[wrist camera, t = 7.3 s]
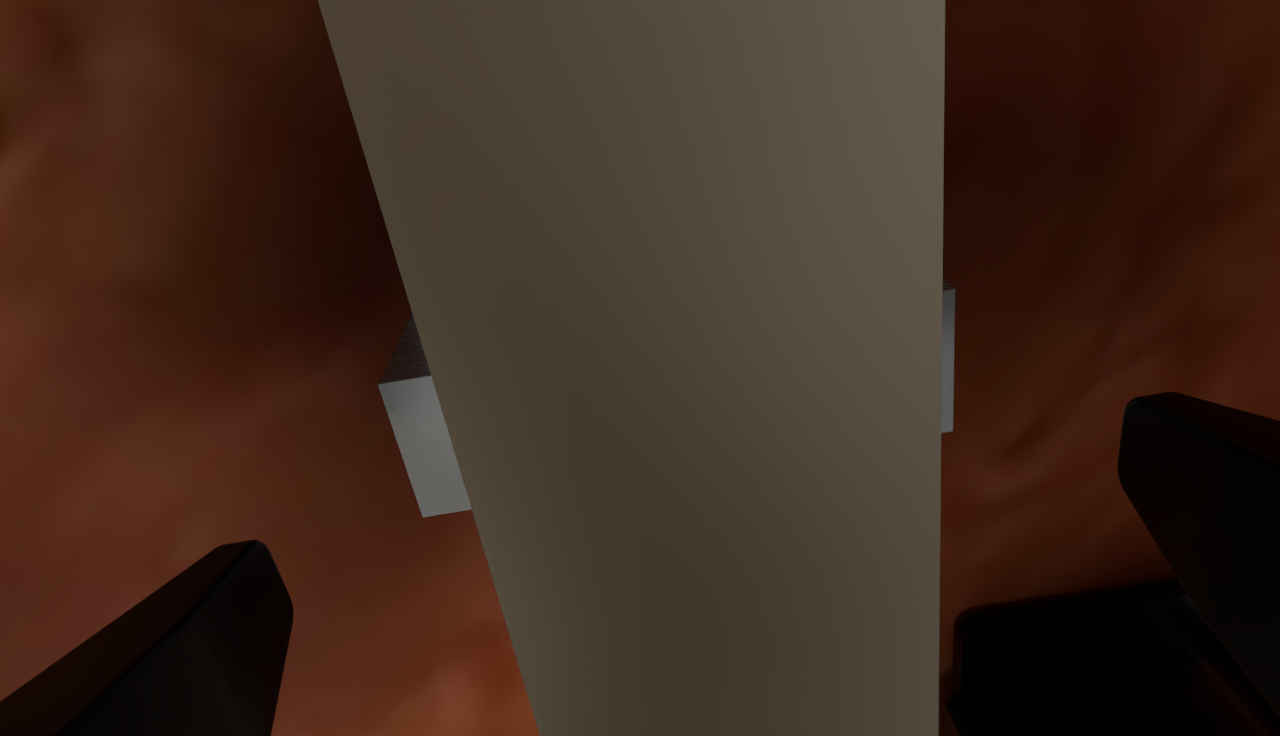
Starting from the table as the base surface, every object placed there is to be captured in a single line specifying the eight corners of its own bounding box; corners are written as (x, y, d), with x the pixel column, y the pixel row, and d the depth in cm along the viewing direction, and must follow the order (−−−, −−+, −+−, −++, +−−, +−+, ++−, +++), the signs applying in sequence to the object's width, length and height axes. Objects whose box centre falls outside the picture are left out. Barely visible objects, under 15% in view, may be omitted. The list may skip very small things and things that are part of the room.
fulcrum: (855, -12, 14) (1007, 10, 9) (870, 413, 17) (984, 600, 12) (369, 73, 14) (246, 142, 9) (485, 476, 17) (444, 685, 12)
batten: (702, -631, 6) (961, -1954, 2) (827, 841, 15) (934, 1238, 10) (343, -564, 6) (-200, -1705, 2) (667, 866, 15) (702, 1272, 10)
